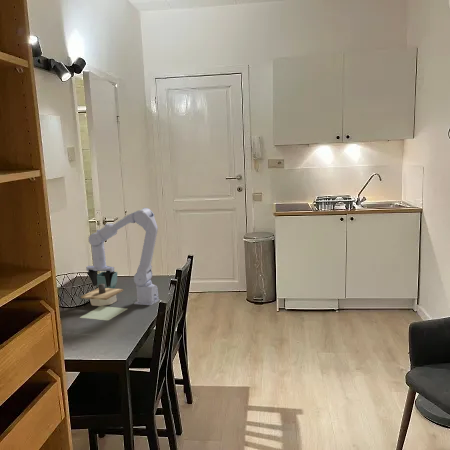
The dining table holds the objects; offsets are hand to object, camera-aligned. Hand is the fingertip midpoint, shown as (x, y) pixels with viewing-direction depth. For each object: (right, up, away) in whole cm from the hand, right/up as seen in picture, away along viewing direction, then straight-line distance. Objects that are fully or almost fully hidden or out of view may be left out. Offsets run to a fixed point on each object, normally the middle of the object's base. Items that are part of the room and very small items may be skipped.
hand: (102, 285), depth 225 cm
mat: (+5, -11, -14) cm, 18 cm away
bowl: (0, -8, +2) cm, 8 cm away
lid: (0, -4, +1) cm, 4 cm away
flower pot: (-2, -5, +21) cm, 22 cm away
